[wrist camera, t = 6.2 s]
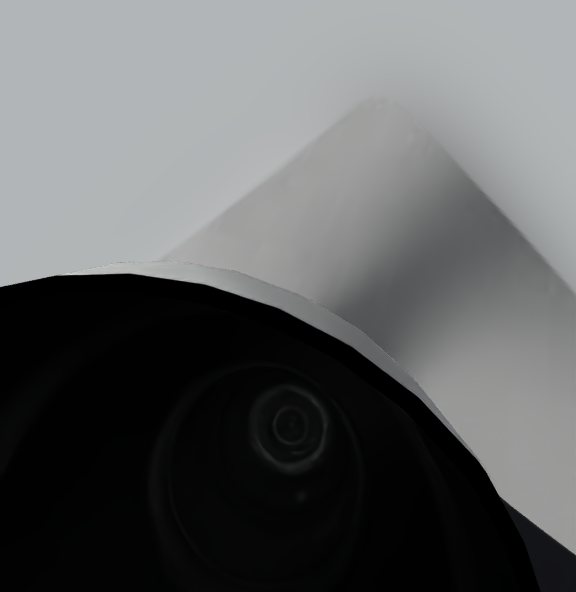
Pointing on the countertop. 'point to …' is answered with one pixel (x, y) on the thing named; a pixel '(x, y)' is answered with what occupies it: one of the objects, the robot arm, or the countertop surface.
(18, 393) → the plastic bottle
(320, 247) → the countertop surface
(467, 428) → the countertop surface
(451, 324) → the countertop surface
